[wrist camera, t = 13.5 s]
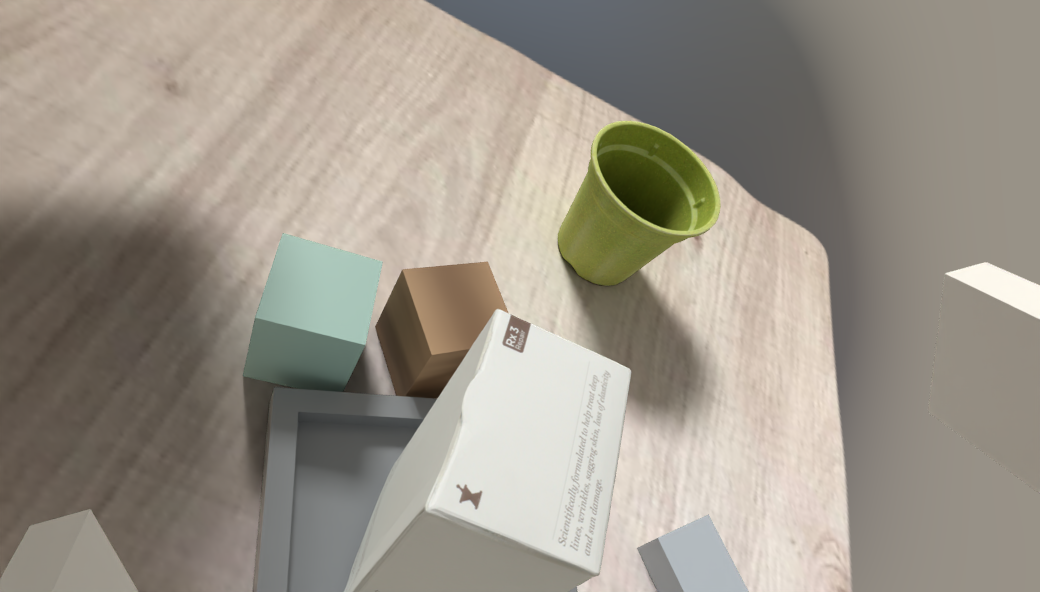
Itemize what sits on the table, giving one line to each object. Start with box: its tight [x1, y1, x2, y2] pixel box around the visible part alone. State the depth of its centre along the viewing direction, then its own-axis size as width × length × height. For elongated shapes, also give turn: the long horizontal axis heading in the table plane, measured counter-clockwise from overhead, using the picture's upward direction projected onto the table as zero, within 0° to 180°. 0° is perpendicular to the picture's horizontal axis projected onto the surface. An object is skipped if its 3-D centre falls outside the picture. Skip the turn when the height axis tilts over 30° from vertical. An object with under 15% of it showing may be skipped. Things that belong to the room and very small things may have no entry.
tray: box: [253, 387, 577, 592], centre depth 33 cm, size 15×15×2 cm
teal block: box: [243, 233, 383, 392], centre depth 36 cm, size 5×5×6 cm
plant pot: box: [558, 121, 720, 286], centre depth 48 cm, size 9×9×9 cm
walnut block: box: [375, 262, 508, 399], centre depth 38 cm, size 5×5×6 cm
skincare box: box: [344, 309, 631, 592], centre depth 28 cm, size 8×6×15 cm
